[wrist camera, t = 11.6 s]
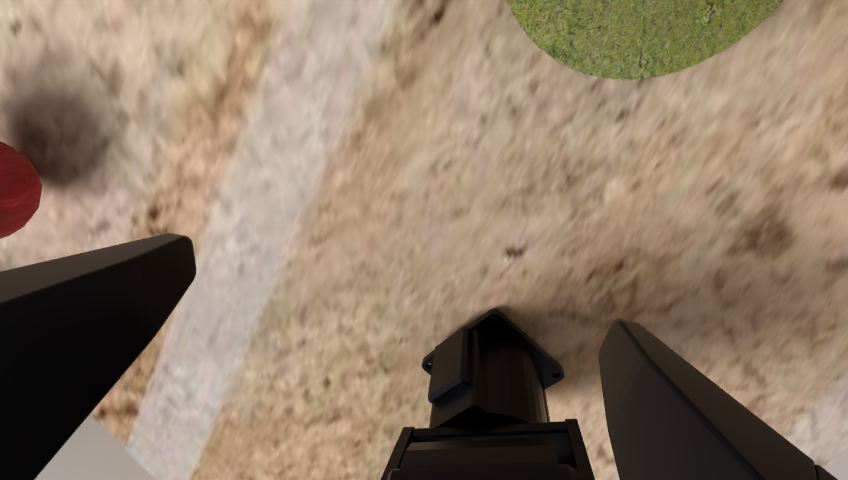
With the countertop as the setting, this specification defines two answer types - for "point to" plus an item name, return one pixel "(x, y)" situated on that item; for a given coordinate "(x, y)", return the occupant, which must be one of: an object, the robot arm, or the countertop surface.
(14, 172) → the onion
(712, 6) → the mat
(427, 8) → the countertop surface
